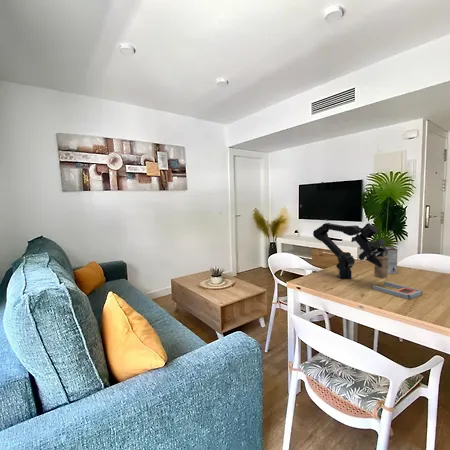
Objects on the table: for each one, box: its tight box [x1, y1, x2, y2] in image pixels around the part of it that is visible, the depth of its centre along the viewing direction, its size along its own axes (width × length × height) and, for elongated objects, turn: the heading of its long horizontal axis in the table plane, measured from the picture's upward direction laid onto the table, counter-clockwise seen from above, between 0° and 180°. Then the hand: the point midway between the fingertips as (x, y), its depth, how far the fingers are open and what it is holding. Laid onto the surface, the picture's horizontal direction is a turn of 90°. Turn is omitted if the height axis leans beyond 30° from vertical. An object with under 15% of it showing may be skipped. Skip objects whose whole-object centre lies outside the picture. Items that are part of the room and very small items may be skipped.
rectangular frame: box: [395, 287, 416, 295], centre depth 127 cm, size 6×9×2 cm, turn 119°
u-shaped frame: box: [372, 281, 423, 301], centre depth 131 cm, size 18×12×2 cm, turn 29°
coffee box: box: [383, 246, 398, 275], centre depth 164 cm, size 9×6×16 cm
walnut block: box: [373, 256, 389, 280], centre depth 137 cm, size 4×4×11 cm
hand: (383, 265), depth 135 cm, fingers closed on walnut block, 4 cm apart
